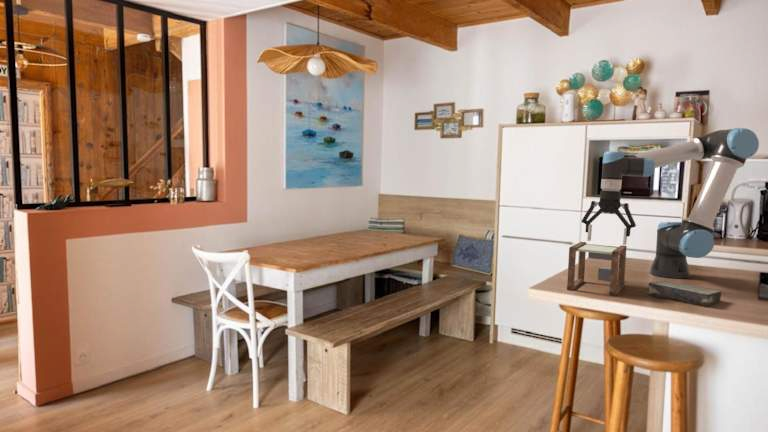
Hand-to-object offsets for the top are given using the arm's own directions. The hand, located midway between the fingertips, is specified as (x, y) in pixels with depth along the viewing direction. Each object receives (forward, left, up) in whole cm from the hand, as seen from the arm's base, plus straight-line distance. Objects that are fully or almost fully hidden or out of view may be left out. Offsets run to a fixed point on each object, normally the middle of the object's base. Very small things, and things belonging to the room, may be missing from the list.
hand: (606, 242), depth 213 cm
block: (-29, +14, -16) cm, 36 cm away
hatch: (0, +14, -5) cm, 15 cm away
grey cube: (0, -2, -16) cm, 16 cm away
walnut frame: (0, +17, -16) cm, 23 cm away
